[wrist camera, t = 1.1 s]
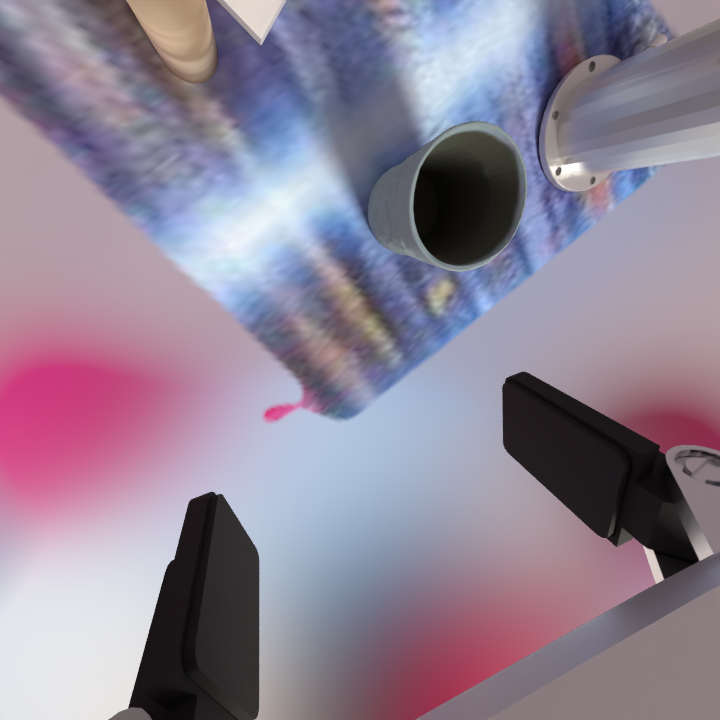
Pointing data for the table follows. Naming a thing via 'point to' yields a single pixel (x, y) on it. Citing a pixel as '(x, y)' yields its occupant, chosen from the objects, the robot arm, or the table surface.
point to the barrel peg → (180, 36)
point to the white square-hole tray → (254, 15)
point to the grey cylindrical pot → (452, 198)
